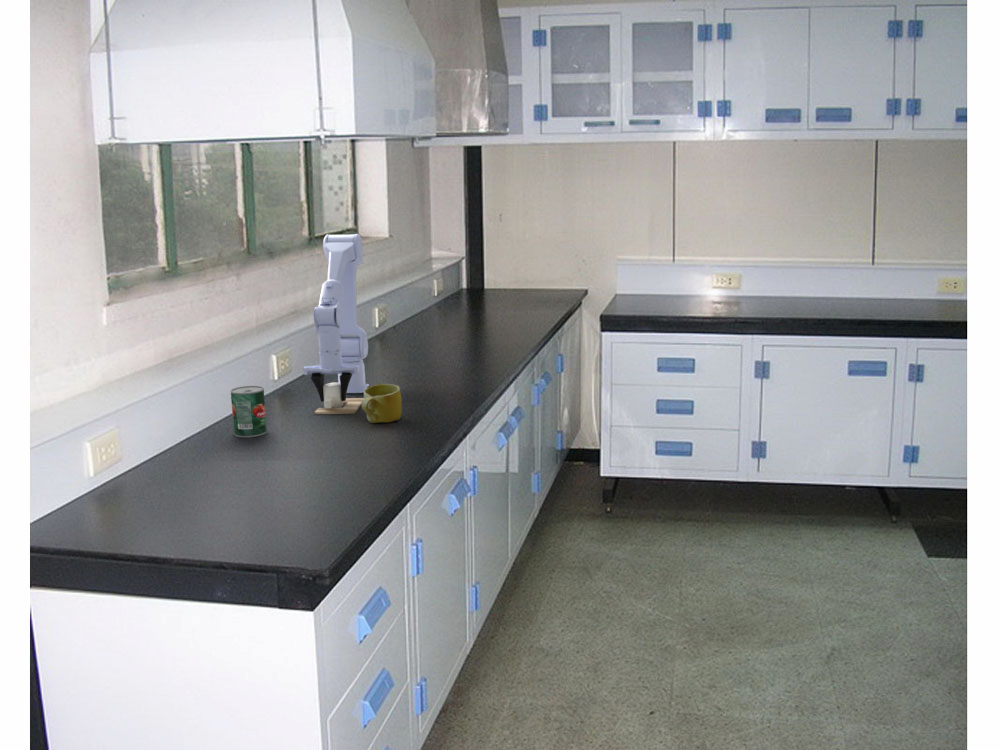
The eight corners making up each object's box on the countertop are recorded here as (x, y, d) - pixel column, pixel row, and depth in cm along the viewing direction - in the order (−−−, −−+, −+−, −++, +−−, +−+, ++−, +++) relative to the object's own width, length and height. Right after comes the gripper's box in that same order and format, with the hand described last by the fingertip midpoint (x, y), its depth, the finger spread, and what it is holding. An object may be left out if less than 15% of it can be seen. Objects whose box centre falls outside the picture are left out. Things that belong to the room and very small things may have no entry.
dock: (327, 400, 282) (327, 398, 282) (364, 400, 282) (364, 398, 281) (314, 414, 268) (314, 411, 268) (354, 413, 268) (354, 411, 267)
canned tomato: (232, 431, 254) (228, 387, 252) (264, 427, 257) (261, 384, 254) (236, 439, 247) (232, 394, 244) (269, 435, 249) (266, 390, 247)
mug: (382, 404, 269) (383, 372, 263) (410, 421, 263) (411, 388, 258) (346, 422, 261) (347, 389, 255) (374, 440, 255) (375, 407, 250)
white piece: (327, 404, 278) (325, 382, 277) (345, 404, 278) (344, 382, 277) (318, 413, 269) (317, 391, 267) (337, 413, 268) (336, 390, 267)
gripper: (299, 353, 268) (302, 404, 271) (354, 352, 267) (357, 403, 270) (305, 348, 275) (309, 398, 278) (359, 347, 274) (362, 397, 277)
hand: (333, 400), depth 275 cm, fingers closed on white piece, 5 cm apart
